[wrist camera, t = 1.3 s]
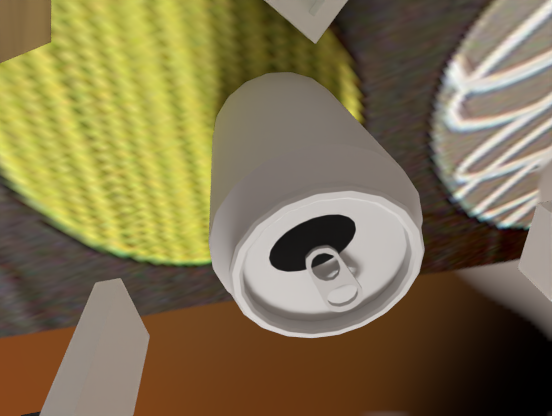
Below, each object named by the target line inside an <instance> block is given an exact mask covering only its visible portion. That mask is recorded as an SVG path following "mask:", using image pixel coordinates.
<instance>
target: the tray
mask: <svg viewBox="0 0 552 416" xmlns="http://www.w3.org/2000/svg"><path fill="white" fill-rule="evenodd" d="M264 1H265V2H266V3H268V4H269V5H270V6H271V7H272V8H273V9H275V10H276V11H277V12H278V13H279V14H280V15H281V16H283V17H284V18H285V19H286V20H287V21H288V22H290V23H291V24H292V25H293V26H294V27H295V28H296V29H298V30H299V31H300V32H301V33H302V34H303V35H305V36H306V37H307V38H308V39H310V40H311V41H312V42H314V43H315V44H316V43H317V41H318V40H319V38H320V37H321V36H322V34H323V33H324V32H325V30H326V29H327V28H328V26H329V25H330V24H331V22H332V21H333V19H334V18H335V17H336V15H337V14H338V13H339V11H340V10H341V9H342V7H343V6H344V5H345V3H346V2H347V0H264Z"/></svg>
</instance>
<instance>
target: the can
mask: <svg viewBox="0 0 552 416" xmlns="http://www.w3.org/2000/svg"><path fill="white" fill-rule="evenodd" d="M422 220H423V219H422V212H421V206H420V200H419V194H418V192H417V190H416V189H415V187H414V186H413V184H412V183H411V181H410V180H409V178H408V176H407V175H406V173H405V172H404V170H403V169H402V168H401V167H400V166H399V165H398V164H397V163H396V161H395V160H394V159H393V158H392V157H391V156H390V155H389V154H388V153H387V152H386V151H385V150H384V149H383V148H382V147H381V145H380V144H379V143H378V142H377V141H376V140H375V139H374V138H373V137H372V136H371V135H370V134H369V133H368V132H367V131H366V129H365V128H364V127H363V126H362V125H361V124H360V123H359V122H358V121H357V120H356V119H355V118H354V117H353V116H352V115H351V113H350V112H349V111H348V110H347V109H346V108H345V107H344V106H343V105H342V104H341V103H340V102H339V101H338V100H337V99H336V97H335V96H334V95H333V94H332V93H331V92H330V91H329V90H328V89H326V88H325V87H324V86H322V85H321V84H319V83H318V82H316V81H315V80H314V79H312V78H310V77H307V76H303V75H299V74H296V73H292V72H280V73H267V74H264V75H262V76H259V77H257V78H254V79H252V80H250V81H247V82H245V83H244V84H243V85H242V86H240V87H239V88H238V89H237V90H236V91H235V92H233V93H232V94H231V95H230V96H229V97H228V98H227V100H226V102H225V103H224V105H223V107H222V108H221V110H220V112H219V113H218V115H217V118H216V123H215V128H214V133H213V143H212V169H211V195H210V222H209V247H210V253H211V259H212V265H213V270H214V271H215V273H216V274H217V276H218V277H219V279H220V280H221V282H222V284H223V285H224V287H225V288H226V290H227V291H228V292H229V293H231V294H232V296H233V298H234V299H235V301H236V302H237V304H238V306H239V307H240V309H241V310H242V312H243V313H244V315H246V316H247V317H249V318H250V319H251V320H253V321H254V322H256V323H257V324H258V325H260V326H261V327H262V328H265V329H268V330H271V331H274V332H277V333H280V334H283V335H286V336H295V337H307V338H316V337H323V336H331V335H338V334H341V333H344V332H347V331H350V330H353V329H356V328H359V327H362V326H364V325H366V324H367V323H369V322H371V321H372V320H374V319H376V318H377V317H379V316H381V315H383V314H384V313H386V312H387V311H388V310H389V309H390V308H391V307H392V306H393V305H395V304H396V303H397V302H398V301H399V300H400V299H401V298H402V297H403V296H404V295H405V294H406V293H407V291H408V289H409V288H410V286H411V285H412V283H413V281H414V280H415V278H416V277H417V275H418V273H419V271H420V266H421V262H422V258H423V254H424V250H425V249H424V243H423V237H422V231H421V225H422Z"/></svg>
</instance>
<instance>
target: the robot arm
mask: <svg viewBox="0 0 552 416" xmlns="http://www.w3.org/2000/svg"><path fill="white" fill-rule="evenodd" d="M518 269H519V270H520V271H521V272H522V273H523V274H524V275H525V276H526V277H527V278H528V279H529V280H530V281H531V282H532V283H533V284H534V285H535V286H536V287H537V288H538V289H539V290H540V291H541V292H542V293H543V294H544V295H545V296H546V297H547V298H548V299H549V300H550V301H551V302H552V201H547V202H541V203H538V204H537V207H536V210H535V214H534V217H533V220H532V223H531V227H530V230H529V233H528V236H527V240H526V243H525V246H524V249H523V253H522V256H521V259H520V262H519V266H518ZM148 341H149V334H148V332H147V330H146V329H145V326H144V324H143V322H142V320H141V318H140V316H139V314H138V312H137V310H136V308H135V306H134V304H133V302H132V300H131V298H130V296H129V294H128V292H127V290H126V288H125V286H124V284H123V282H122V280H121V278H119V279H113V280H108V281H102V282H97V283H95V285H94V287H93V290H92V292H91V294H90V297H89V299H88V301H87V304H86V306H85V309H84V311H83V313H82V316H81V318H80V320H79V323H78V325H77V327H76V330H75V332H74V335H73V337H72V340H71V342H70V344H69V347H68V349H67V351H66V354H65V356H64V358H63V361H62V363H61V366H60V368H59V370H58V373H57V375H56V377H55V380H54V382H53V384H52V387H51V389H50V392H49V394H48V396H47V399H46V401H45V404H44V406H43V408H42V410H41V412H36V413H30V414H25V415H21V416H133V413H134V409H135V403H136V399H137V394H138V389H139V384H140V379H141V375H142V370H143V365H144V361H145V355H146V351H147V346H148Z"/></svg>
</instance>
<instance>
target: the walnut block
mask: <svg viewBox="0 0 552 416" xmlns="http://www.w3.org/2000/svg"><path fill="white" fill-rule="evenodd" d="M50 42H51V0H0V63H2V62H4V61H6V60H9V59H11V58H14V57H16V56H18V55H21V54H23V53H26V52H28V51H30V50H33V49H35V48H38V47H40V46H43V45H45V44H47V43H50Z"/></svg>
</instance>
